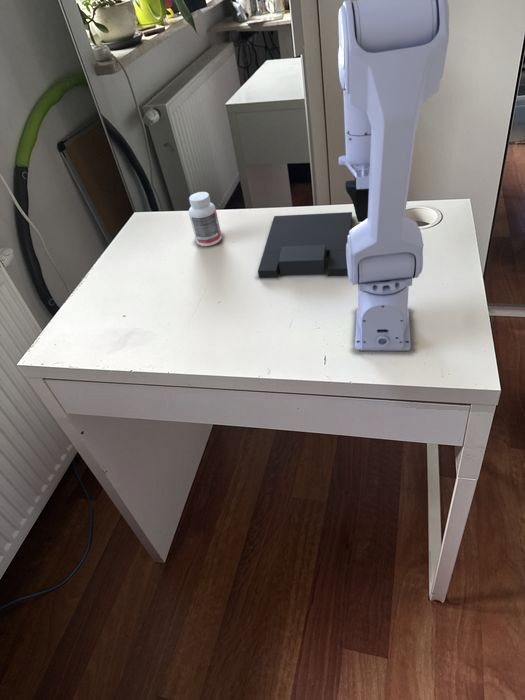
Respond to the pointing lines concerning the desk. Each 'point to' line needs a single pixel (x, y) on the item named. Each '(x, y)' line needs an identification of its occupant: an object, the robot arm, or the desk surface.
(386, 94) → the robot arm
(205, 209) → the pill bottle
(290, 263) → the small pad
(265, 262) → the big pad
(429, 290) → the desk surface
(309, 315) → the desk surface
